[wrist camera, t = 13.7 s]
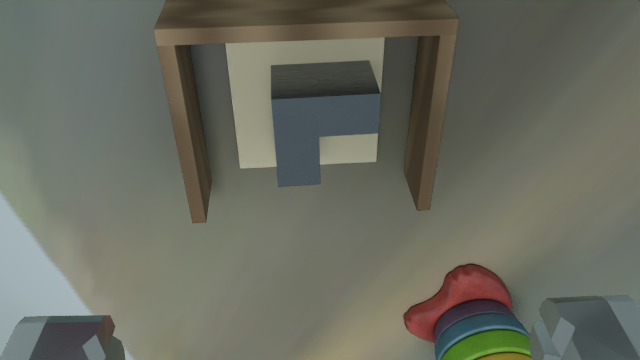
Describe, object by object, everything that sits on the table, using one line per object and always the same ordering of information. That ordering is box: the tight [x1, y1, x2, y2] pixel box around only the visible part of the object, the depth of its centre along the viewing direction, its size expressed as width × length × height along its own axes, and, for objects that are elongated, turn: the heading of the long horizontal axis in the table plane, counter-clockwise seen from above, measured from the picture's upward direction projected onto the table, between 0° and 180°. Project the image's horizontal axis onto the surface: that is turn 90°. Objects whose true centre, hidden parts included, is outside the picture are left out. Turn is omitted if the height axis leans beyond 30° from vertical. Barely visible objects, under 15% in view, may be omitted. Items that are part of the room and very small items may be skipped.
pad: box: [225, 38, 385, 169], centre depth 40 cm, size 11×11×1 cm
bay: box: [154, 0, 459, 223], centre depth 38 cm, size 18×15×5 cm
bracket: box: [271, 60, 381, 187], centre depth 38 cm, size 7×7×5 cm
